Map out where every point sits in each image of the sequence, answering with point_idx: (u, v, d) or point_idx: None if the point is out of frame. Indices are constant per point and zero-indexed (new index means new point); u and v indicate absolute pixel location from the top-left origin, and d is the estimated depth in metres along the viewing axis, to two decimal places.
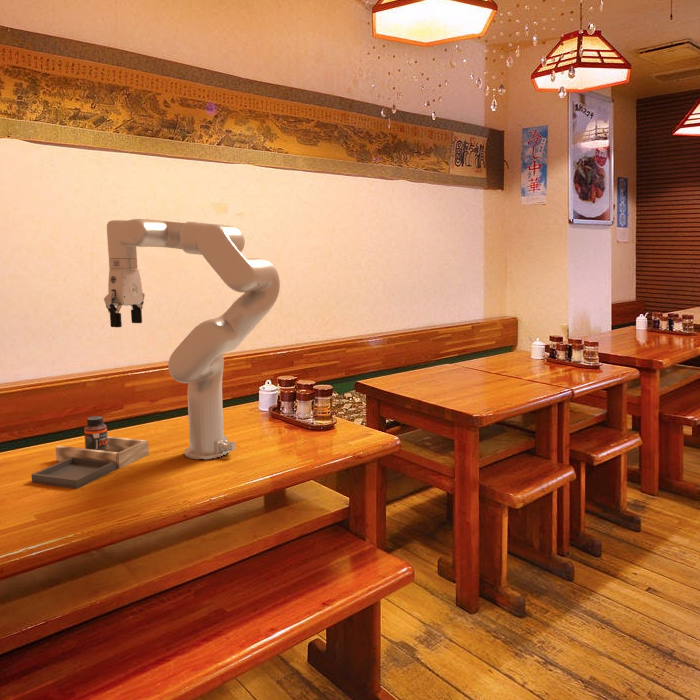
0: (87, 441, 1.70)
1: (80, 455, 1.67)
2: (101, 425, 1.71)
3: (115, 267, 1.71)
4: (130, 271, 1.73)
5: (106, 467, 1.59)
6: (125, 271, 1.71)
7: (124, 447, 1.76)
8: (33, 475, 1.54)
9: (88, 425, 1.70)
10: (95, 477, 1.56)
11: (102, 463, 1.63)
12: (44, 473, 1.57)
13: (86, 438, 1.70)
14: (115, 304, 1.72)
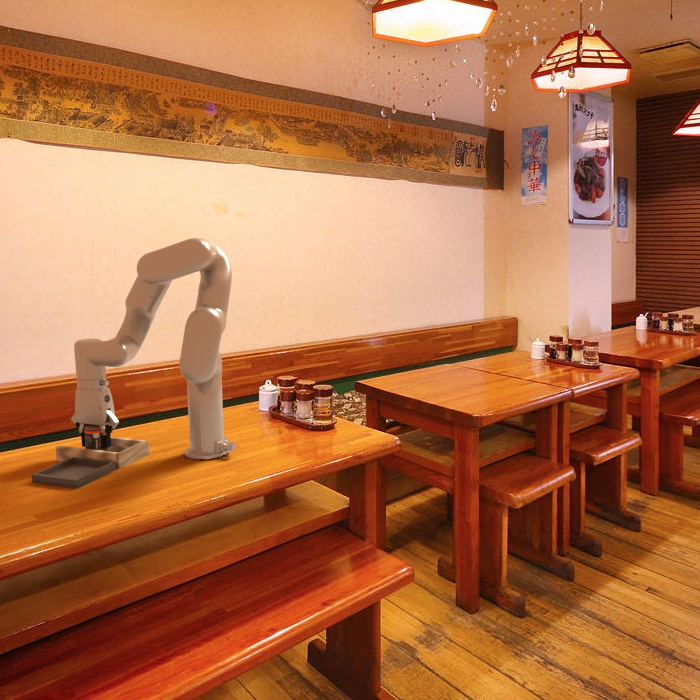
0: (87, 441, 1.70)
1: (80, 455, 1.67)
2: None
3: (103, 386, 1.69)
4: None
5: (106, 467, 1.59)
6: None
7: (124, 447, 1.76)
8: (33, 475, 1.54)
9: (88, 425, 1.70)
10: (95, 477, 1.56)
11: (102, 463, 1.63)
12: (44, 473, 1.57)
13: (86, 438, 1.70)
14: (104, 425, 1.70)
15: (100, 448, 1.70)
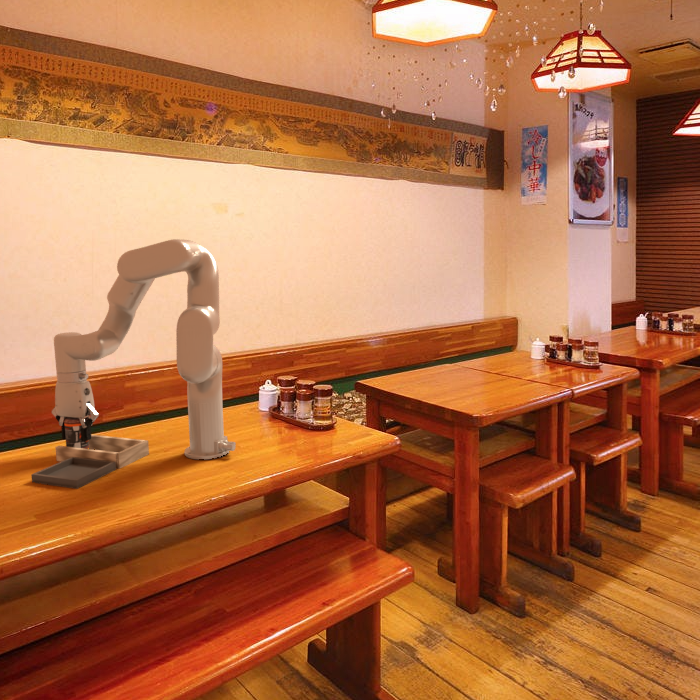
0: (67, 434, 1.72)
1: (80, 455, 1.67)
2: None
3: (83, 379, 1.71)
4: None
5: (106, 467, 1.59)
6: None
7: (124, 447, 1.76)
8: (33, 475, 1.54)
9: (68, 418, 1.72)
10: (95, 477, 1.56)
11: (102, 463, 1.63)
12: (44, 473, 1.57)
13: (66, 431, 1.72)
14: None
15: (80, 441, 1.72)
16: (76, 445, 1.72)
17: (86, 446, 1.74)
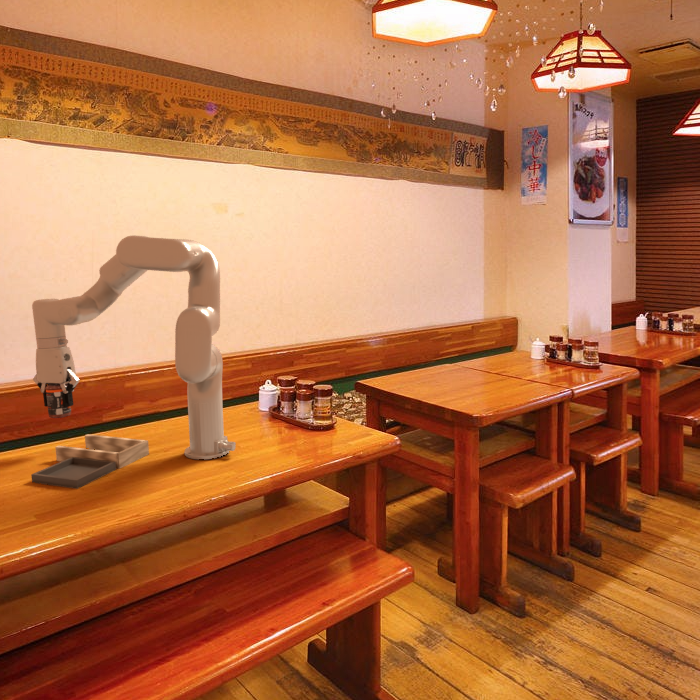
0: (49, 400, 1.72)
1: (80, 455, 1.67)
2: None
3: (62, 345, 1.71)
4: None
5: (106, 467, 1.59)
6: None
7: (124, 447, 1.76)
8: (33, 475, 1.54)
9: (49, 384, 1.73)
10: (95, 477, 1.56)
11: (102, 463, 1.63)
12: (44, 473, 1.57)
13: (47, 397, 1.72)
14: (65, 383, 1.73)
15: (62, 407, 1.73)
16: (58, 411, 1.72)
17: (68, 412, 1.75)
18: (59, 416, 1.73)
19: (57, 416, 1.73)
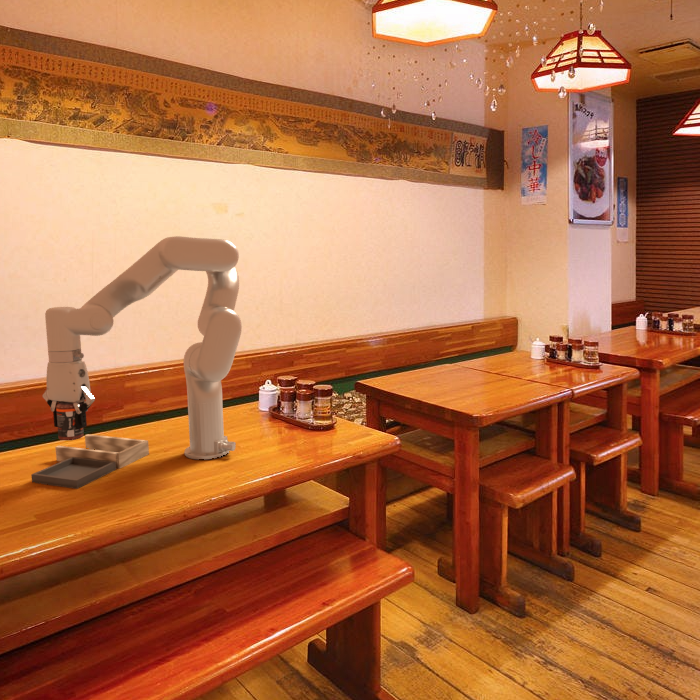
0: (59, 420, 1.53)
1: (80, 455, 1.67)
2: None
3: (77, 359, 1.53)
4: None
5: (106, 467, 1.59)
6: None
7: (124, 447, 1.76)
8: (33, 475, 1.54)
9: (60, 402, 1.54)
10: (95, 477, 1.56)
11: (102, 463, 1.63)
12: (44, 473, 1.57)
13: (58, 417, 1.53)
14: (79, 402, 1.54)
15: (74, 428, 1.54)
16: (69, 433, 1.54)
17: (80, 434, 1.56)
18: (70, 438, 1.54)
19: (68, 438, 1.54)
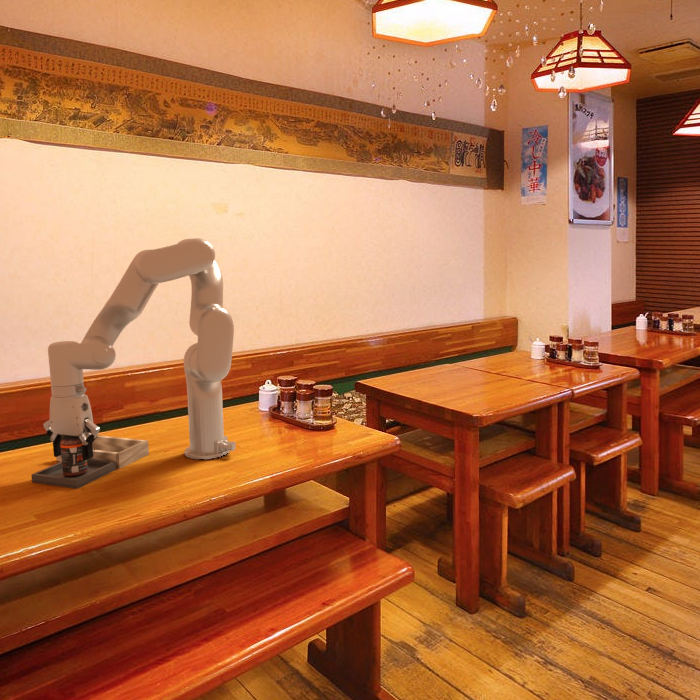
0: (64, 456, 1.55)
1: None
2: (79, 438, 1.56)
3: (80, 393, 1.54)
4: None
5: (106, 467, 1.59)
6: None
7: (124, 447, 1.76)
8: (33, 475, 1.54)
9: (64, 438, 1.56)
10: (95, 477, 1.56)
11: (102, 463, 1.63)
12: (44, 473, 1.57)
13: (62, 453, 1.55)
14: (84, 434, 1.55)
15: (78, 464, 1.56)
16: (73, 468, 1.55)
17: (85, 469, 1.58)
18: (75, 474, 1.56)
19: (72, 474, 1.55)
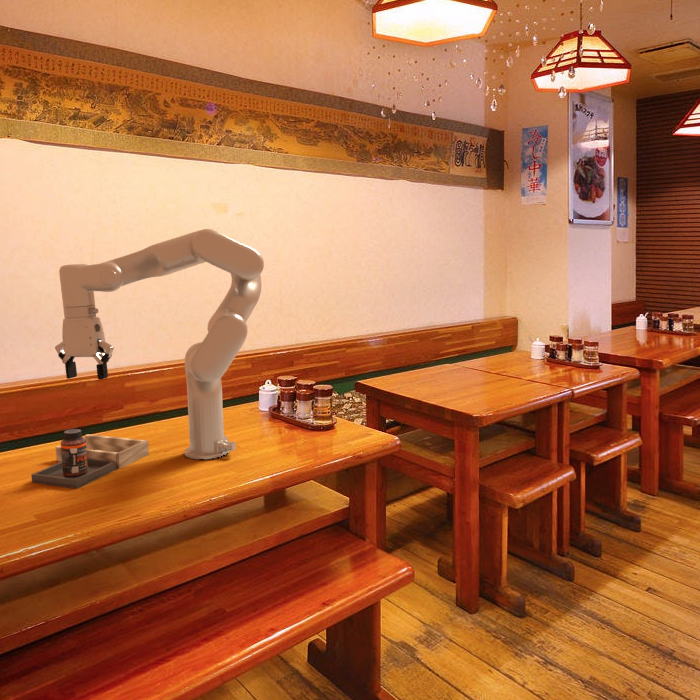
0: (64, 457, 1.55)
1: None
2: (79, 439, 1.56)
3: (92, 315, 1.57)
4: None
5: (106, 467, 1.59)
6: None
7: (124, 447, 1.76)
8: (33, 475, 1.54)
9: (65, 439, 1.55)
10: (95, 477, 1.56)
11: (102, 463, 1.63)
12: (44, 473, 1.57)
13: (63, 453, 1.55)
14: (98, 354, 1.59)
15: (78, 464, 1.56)
16: (73, 469, 1.55)
17: (85, 470, 1.57)
18: (75, 475, 1.56)
19: (72, 475, 1.55)
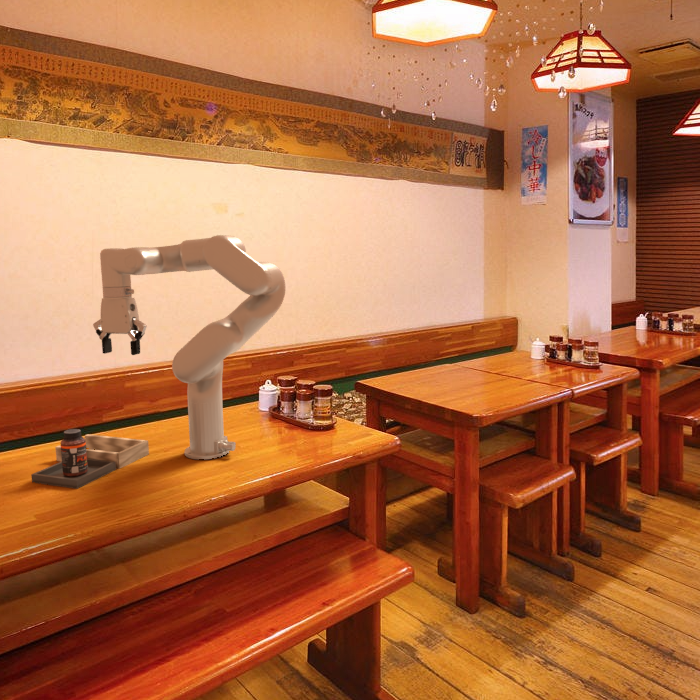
0: (64, 457, 1.55)
1: None
2: (79, 439, 1.56)
3: (128, 295, 1.71)
4: None
5: (106, 467, 1.59)
6: None
7: (124, 447, 1.76)
8: (33, 475, 1.54)
9: (64, 439, 1.55)
10: (95, 477, 1.56)
11: (102, 463, 1.63)
12: (44, 473, 1.57)
13: (62, 453, 1.55)
14: (132, 332, 1.72)
15: (78, 464, 1.56)
16: (73, 469, 1.55)
17: (85, 470, 1.57)
18: (75, 475, 1.56)
19: (72, 475, 1.55)
